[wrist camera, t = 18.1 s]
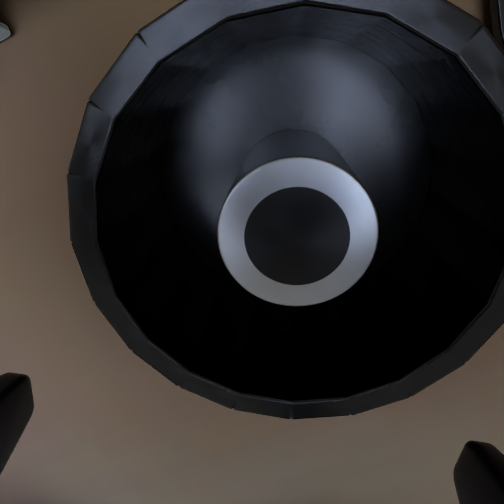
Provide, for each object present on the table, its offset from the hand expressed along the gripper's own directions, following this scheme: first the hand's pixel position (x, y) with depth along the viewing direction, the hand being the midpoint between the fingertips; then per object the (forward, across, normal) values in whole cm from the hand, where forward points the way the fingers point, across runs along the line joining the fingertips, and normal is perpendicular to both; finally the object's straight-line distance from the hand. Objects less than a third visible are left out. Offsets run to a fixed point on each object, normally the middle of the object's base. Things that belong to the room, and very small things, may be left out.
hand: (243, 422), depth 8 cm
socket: (+8, -1, -3) cm, 9 cm away
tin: (+9, -1, -3) cm, 9 cm away
